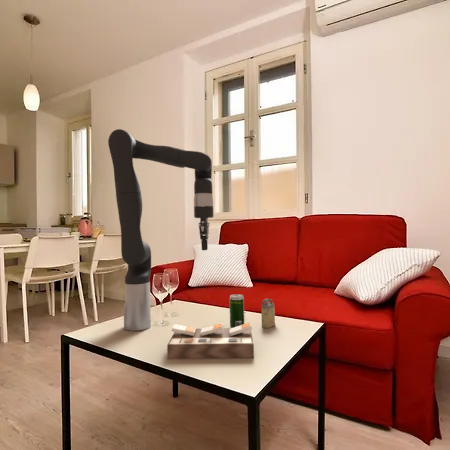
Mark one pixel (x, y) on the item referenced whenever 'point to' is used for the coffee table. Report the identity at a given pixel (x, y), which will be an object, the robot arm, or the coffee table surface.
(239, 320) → the beer can
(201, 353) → the switch console
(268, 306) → the lighter
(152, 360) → the coffee table surface
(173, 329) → the rocker left
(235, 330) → the rocker right
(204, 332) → the rocker middle
